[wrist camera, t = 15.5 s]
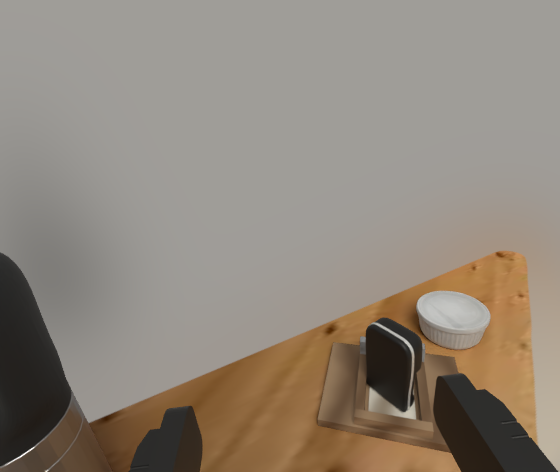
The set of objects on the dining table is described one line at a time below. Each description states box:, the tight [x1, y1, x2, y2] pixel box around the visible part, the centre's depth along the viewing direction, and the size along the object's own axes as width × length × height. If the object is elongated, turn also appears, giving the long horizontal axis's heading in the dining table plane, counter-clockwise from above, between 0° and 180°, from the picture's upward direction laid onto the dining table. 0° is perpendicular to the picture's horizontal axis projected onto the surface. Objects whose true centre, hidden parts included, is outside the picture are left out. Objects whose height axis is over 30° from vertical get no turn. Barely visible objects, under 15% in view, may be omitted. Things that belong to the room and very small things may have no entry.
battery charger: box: [366, 318, 423, 412], centre depth 43 cm, size 7×4×11 cm, turn 35°
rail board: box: [318, 336, 458, 453], centre depth 46 cm, size 19×15×5 cm
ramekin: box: [416, 291, 490, 350], centre depth 56 cm, size 11×11×5 cm
